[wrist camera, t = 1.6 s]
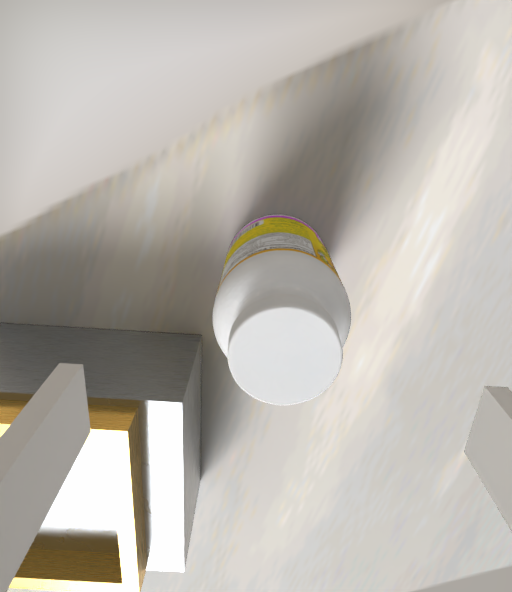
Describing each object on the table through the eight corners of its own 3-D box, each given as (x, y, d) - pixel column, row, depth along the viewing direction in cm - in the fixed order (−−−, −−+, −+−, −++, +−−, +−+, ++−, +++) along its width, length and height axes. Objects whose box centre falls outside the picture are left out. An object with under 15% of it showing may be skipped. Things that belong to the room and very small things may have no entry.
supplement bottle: (318, 309, 31) (351, 433, 19) (224, 301, 31) (198, 420, 19) (333, 215, 28) (383, 291, 16) (231, 206, 28) (205, 274, 16)
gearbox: (201, 335, 32) (175, 426, 22) (200, 480, 37) (178, 602, 28) (-89, 317, 32) (-234, 402, 22) (-47, 466, 37) (-151, 583, 28)
